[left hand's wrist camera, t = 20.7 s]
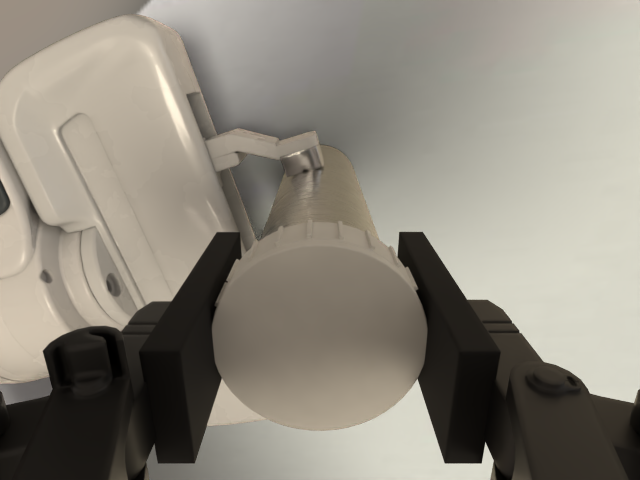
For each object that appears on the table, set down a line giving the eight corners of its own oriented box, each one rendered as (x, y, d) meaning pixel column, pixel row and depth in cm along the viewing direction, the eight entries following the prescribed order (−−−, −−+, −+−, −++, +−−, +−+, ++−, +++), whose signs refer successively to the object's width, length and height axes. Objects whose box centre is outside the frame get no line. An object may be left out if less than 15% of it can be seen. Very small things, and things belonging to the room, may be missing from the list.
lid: (293, 177, 11) (289, 194, 9) (457, 291, 12) (478, 324, 10) (186, 329, 12) (166, 367, 11) (340, 418, 13) (343, 464, 12)
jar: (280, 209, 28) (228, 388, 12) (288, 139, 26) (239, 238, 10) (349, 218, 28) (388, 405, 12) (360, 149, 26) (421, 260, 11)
